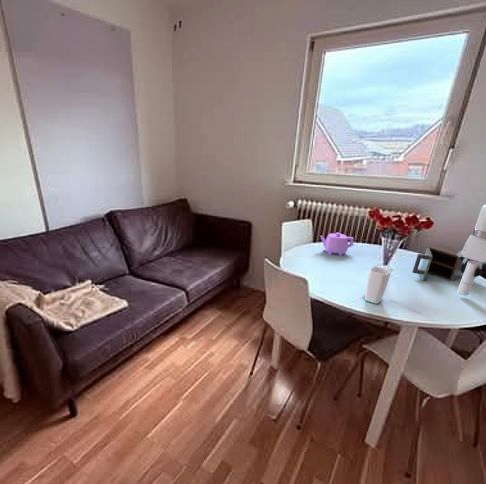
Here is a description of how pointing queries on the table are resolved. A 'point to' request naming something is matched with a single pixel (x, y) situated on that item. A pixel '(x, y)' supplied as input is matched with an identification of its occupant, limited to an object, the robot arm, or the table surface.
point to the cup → (376, 284)
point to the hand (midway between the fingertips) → (469, 273)
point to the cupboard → (445, 262)
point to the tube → (467, 278)
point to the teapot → (337, 243)
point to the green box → (423, 264)
